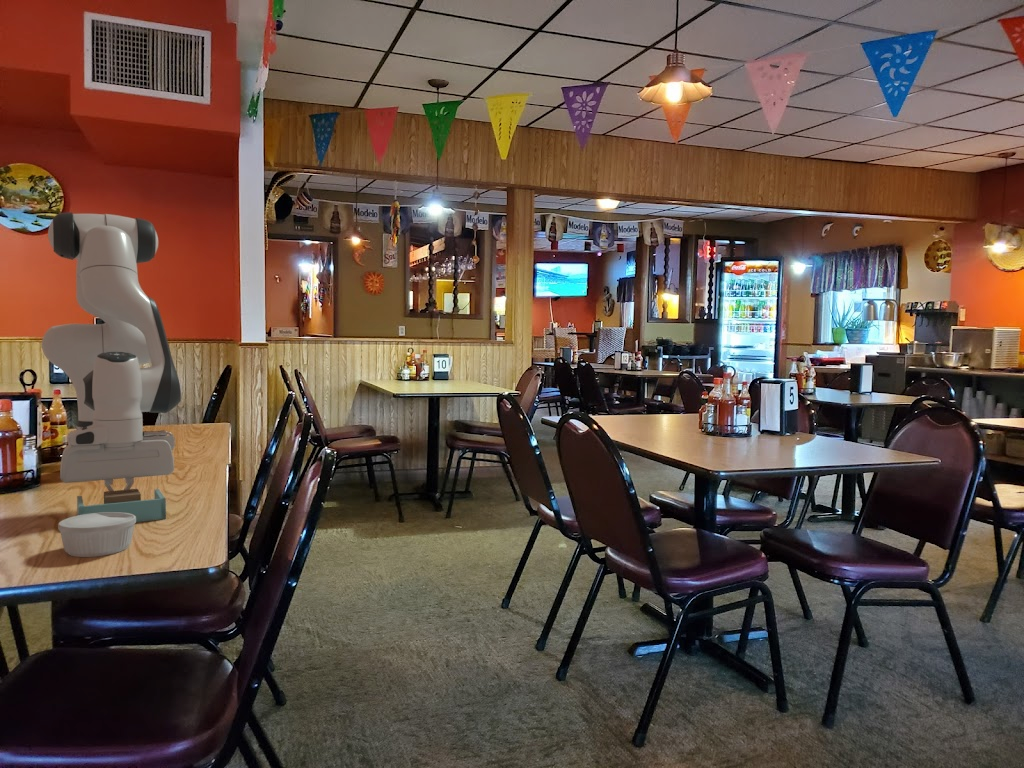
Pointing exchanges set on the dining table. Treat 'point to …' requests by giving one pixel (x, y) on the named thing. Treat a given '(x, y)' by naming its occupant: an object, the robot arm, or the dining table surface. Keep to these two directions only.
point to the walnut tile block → (121, 496)
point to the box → (130, 508)
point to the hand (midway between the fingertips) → (119, 500)
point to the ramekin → (97, 533)
